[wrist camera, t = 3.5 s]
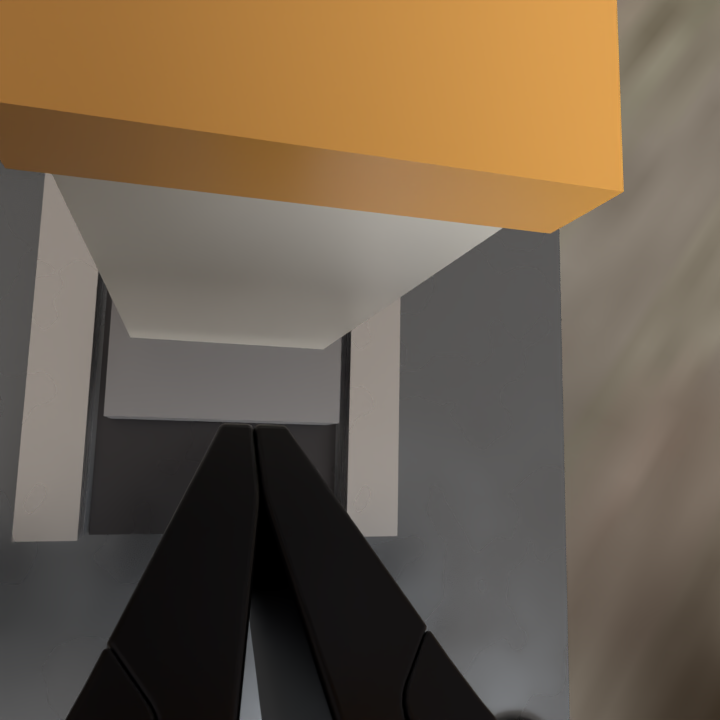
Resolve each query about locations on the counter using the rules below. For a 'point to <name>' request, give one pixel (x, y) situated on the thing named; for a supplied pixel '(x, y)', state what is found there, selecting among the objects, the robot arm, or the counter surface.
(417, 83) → the slide paddle
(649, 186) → the counter surface
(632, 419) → the counter surface
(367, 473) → the console
